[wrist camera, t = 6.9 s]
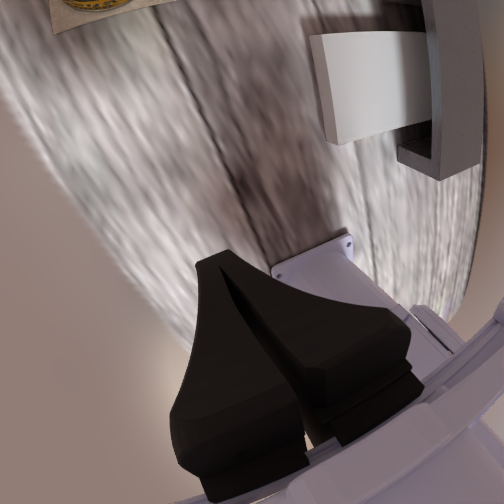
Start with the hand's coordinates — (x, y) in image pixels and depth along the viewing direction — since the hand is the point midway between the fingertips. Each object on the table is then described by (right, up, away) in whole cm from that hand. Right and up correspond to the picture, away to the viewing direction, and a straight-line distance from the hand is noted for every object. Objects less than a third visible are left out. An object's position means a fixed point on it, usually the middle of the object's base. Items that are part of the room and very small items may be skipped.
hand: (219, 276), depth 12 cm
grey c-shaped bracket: (+16, +17, +10) cm, 25 cm away
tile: (+12, +15, +9) cm, 21 cm away
